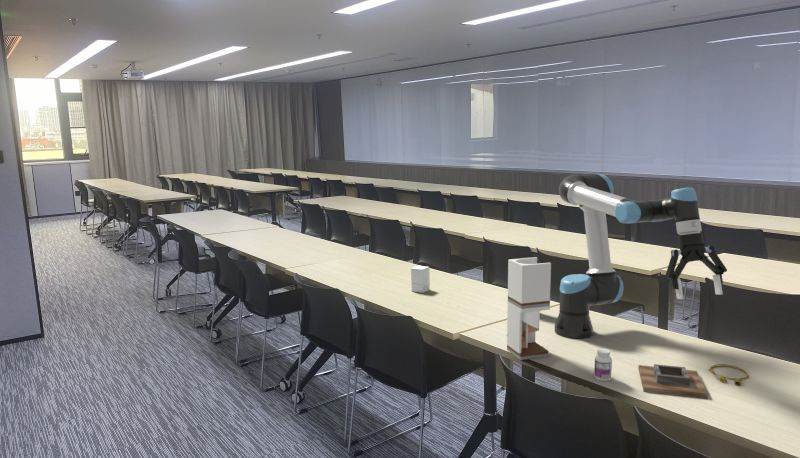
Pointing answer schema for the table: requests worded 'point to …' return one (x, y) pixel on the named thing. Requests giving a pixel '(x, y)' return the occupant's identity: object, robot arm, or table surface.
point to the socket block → (671, 381)
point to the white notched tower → (526, 305)
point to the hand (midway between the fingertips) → (699, 296)
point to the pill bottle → (603, 365)
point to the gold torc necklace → (722, 379)
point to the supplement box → (420, 279)
